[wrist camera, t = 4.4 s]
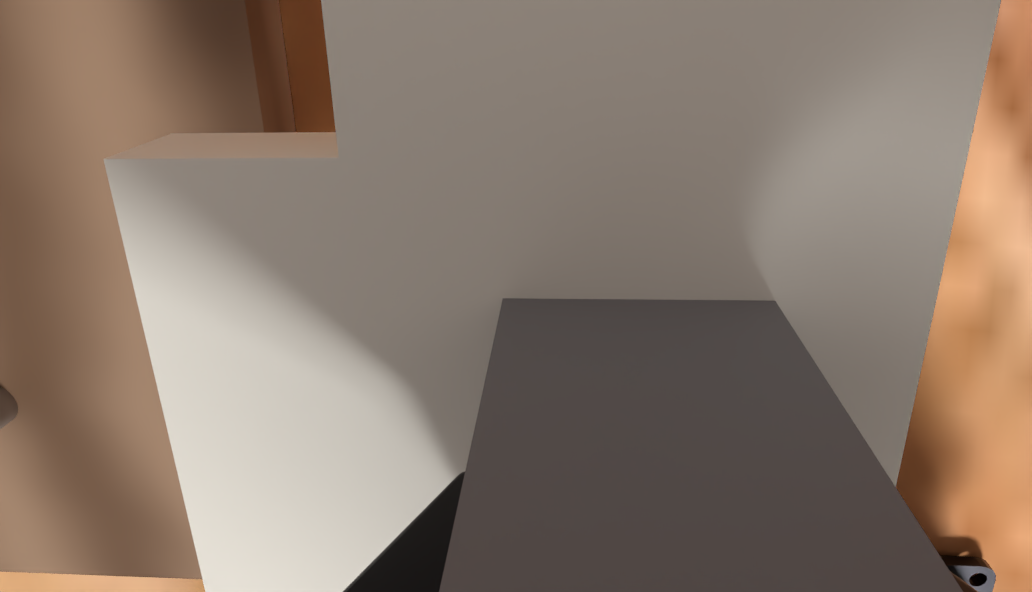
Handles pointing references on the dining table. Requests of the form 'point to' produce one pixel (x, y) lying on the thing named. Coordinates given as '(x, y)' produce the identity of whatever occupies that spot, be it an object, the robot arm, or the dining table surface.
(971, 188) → the dining table surface
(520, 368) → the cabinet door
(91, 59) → the peg board
